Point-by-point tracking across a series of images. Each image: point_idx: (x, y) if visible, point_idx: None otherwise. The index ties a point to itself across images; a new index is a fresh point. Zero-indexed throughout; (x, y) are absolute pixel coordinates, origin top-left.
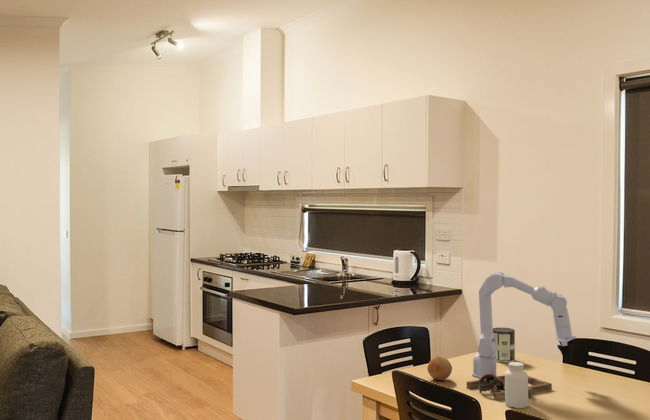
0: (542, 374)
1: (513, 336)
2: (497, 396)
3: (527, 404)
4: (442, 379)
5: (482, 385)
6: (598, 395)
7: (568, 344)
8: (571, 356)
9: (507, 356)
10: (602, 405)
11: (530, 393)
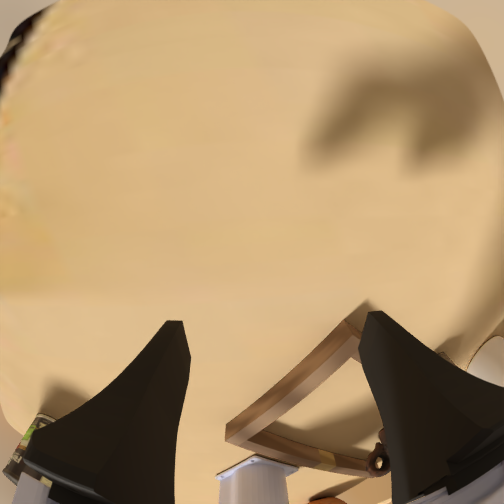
0: (116, 366)
1: (25, 470)
2: None
3: (501, 337)
4: (336, 498)
5: None
6: (352, 111)
7: (147, 461)
8: (179, 333)
9: None
10: (463, 120)
11: (450, 361)
